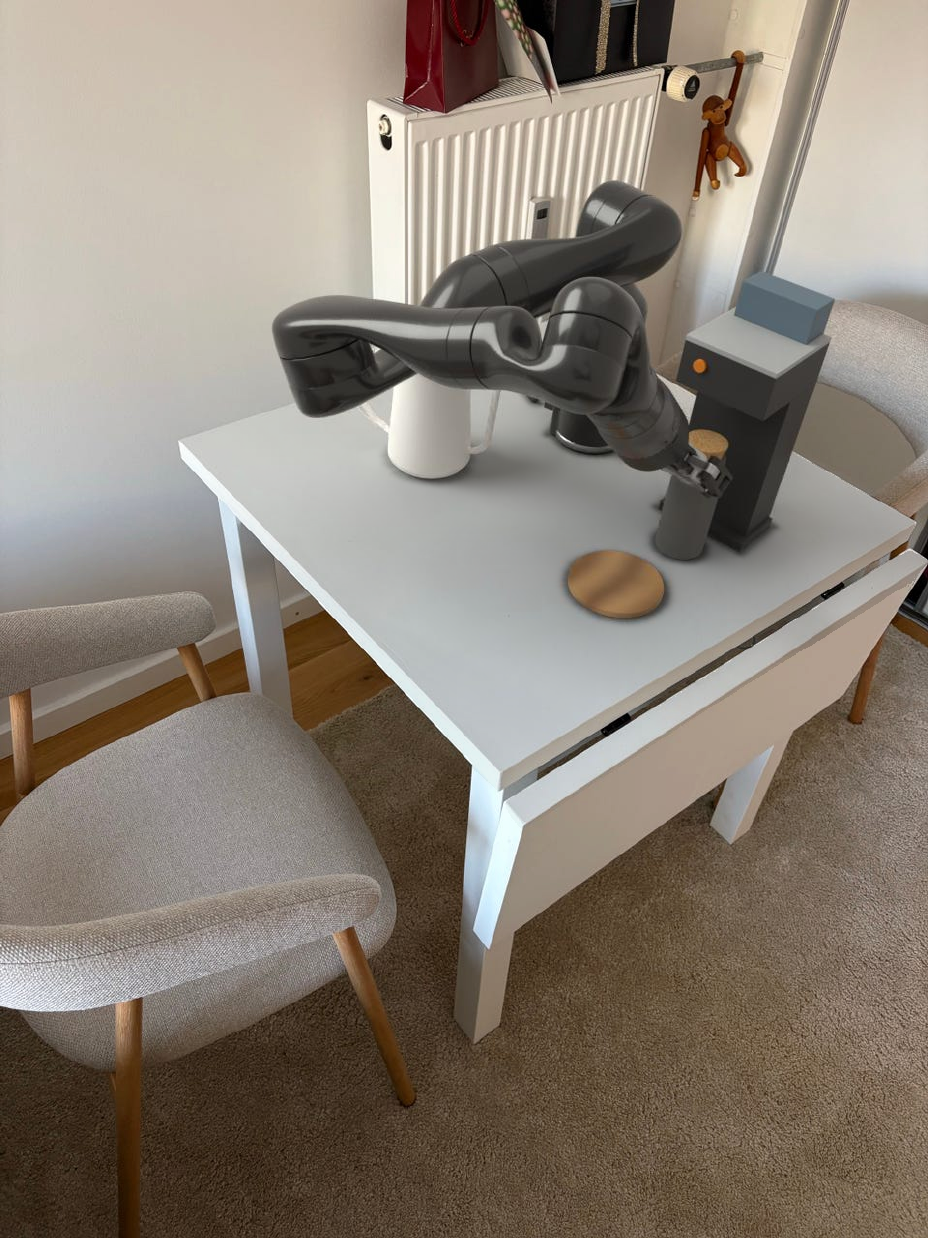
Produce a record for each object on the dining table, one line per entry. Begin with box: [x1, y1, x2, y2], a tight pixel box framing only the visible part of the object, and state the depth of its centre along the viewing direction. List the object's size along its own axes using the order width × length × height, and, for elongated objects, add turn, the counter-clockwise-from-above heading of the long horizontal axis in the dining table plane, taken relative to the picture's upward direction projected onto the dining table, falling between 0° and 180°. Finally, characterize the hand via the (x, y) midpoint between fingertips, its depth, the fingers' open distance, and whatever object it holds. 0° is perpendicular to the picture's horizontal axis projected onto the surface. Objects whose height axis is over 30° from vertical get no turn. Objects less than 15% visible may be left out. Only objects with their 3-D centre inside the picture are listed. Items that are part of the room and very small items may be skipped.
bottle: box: [654, 429, 728, 561], centre depth 115 cm, size 6×6×15 cm
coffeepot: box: [356, 344, 502, 479], centre depth 124 cm, size 11×25×19 cm, turn 71°
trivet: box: [567, 549, 665, 619], centre depth 113 cm, size 11×11×1 cm
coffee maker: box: [658, 270, 836, 552], centre depth 113 cm, size 12×12×30 cm
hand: (679, 472), depth 108 cm, fingers open, 8 cm apart
